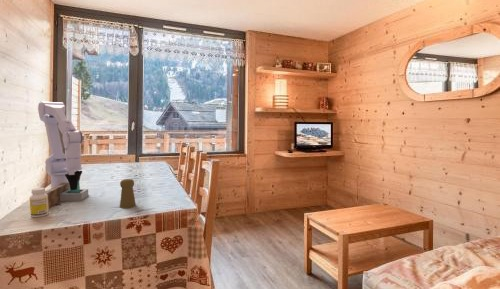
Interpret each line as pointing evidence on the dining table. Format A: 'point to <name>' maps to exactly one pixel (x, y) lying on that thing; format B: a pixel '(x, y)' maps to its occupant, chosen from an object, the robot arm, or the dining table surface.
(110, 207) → the dining table surface
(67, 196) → the socket block
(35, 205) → the supplement bottle
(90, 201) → the dining table surface
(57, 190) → the rail
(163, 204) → the dining table surface
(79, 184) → the dowel
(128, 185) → the cork
